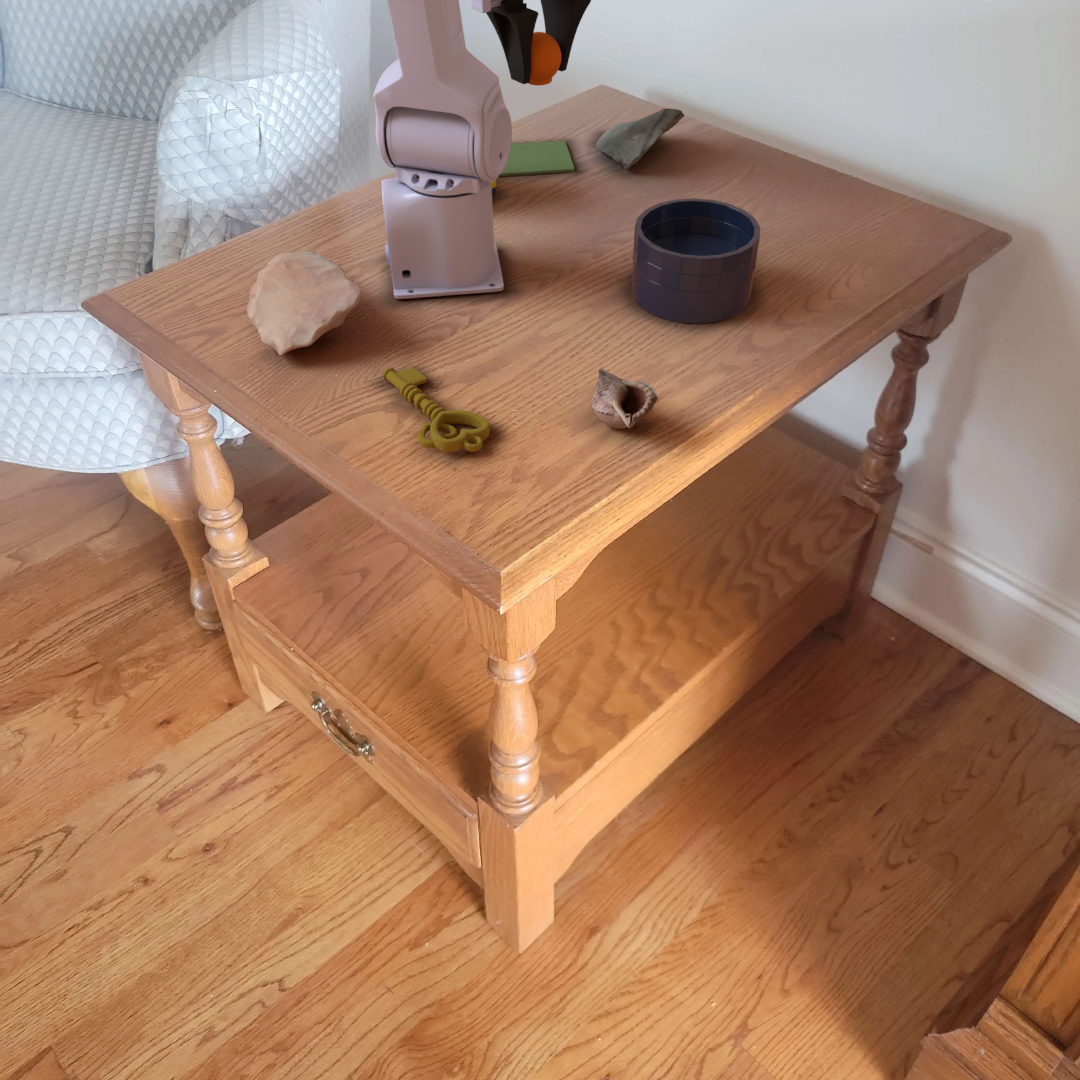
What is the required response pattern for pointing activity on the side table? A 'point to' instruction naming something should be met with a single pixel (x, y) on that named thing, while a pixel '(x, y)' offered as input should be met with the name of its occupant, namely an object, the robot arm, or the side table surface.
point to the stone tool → (300, 300)
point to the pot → (694, 260)
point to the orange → (544, 58)
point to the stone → (637, 136)
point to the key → (439, 415)
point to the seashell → (622, 400)
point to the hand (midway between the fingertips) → (538, 74)
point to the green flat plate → (538, 158)
